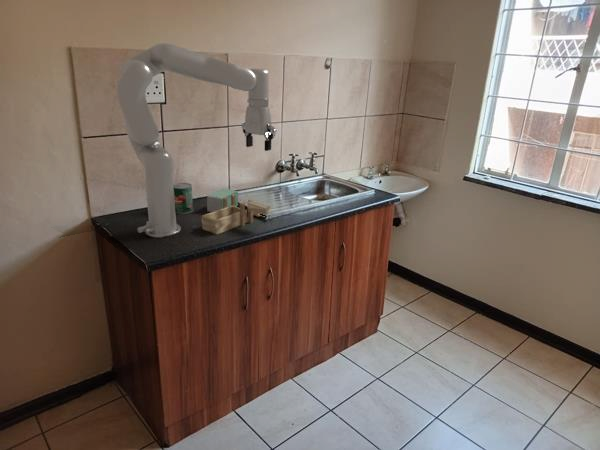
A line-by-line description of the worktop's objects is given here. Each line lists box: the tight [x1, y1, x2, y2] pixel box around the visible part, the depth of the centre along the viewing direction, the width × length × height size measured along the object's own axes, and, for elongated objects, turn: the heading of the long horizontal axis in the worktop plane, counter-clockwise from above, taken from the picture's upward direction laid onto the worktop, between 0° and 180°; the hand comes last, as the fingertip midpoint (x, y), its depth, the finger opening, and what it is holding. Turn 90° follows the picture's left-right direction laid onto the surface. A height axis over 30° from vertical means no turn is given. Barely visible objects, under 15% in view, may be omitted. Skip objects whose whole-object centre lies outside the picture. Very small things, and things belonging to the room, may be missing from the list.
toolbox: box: [201, 194, 254, 235], centre depth 171 cm, size 18×11×10 cm, turn 143°
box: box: [206, 188, 239, 213], centre depth 190 cm, size 7×14×8 cm, turn 157°
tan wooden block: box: [247, 200, 271, 215], centre depth 168 cm, size 2×9×3 cm, turn 53°
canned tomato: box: [173, 182, 194, 215], centre depth 187 cm, size 8×8×11 cm
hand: (258, 148), depth 175 cm, fingers open, 9 cm apart
